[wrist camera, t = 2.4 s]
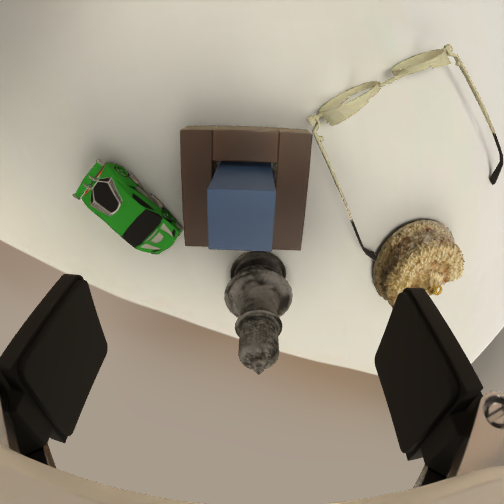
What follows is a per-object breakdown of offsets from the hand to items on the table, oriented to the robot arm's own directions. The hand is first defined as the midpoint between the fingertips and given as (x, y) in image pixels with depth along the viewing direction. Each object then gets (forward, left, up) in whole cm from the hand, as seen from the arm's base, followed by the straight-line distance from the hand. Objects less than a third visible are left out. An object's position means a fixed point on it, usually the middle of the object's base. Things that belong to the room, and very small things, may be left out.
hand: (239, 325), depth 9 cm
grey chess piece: (+1, -10, -19) cm, 22 cm away
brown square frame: (0, -1, -19) cm, 19 cm away
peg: (0, -1, -19) cm, 19 cm away
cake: (+17, -8, -19) cm, 27 cm away
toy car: (-11, -4, -19) cm, 22 cm away
